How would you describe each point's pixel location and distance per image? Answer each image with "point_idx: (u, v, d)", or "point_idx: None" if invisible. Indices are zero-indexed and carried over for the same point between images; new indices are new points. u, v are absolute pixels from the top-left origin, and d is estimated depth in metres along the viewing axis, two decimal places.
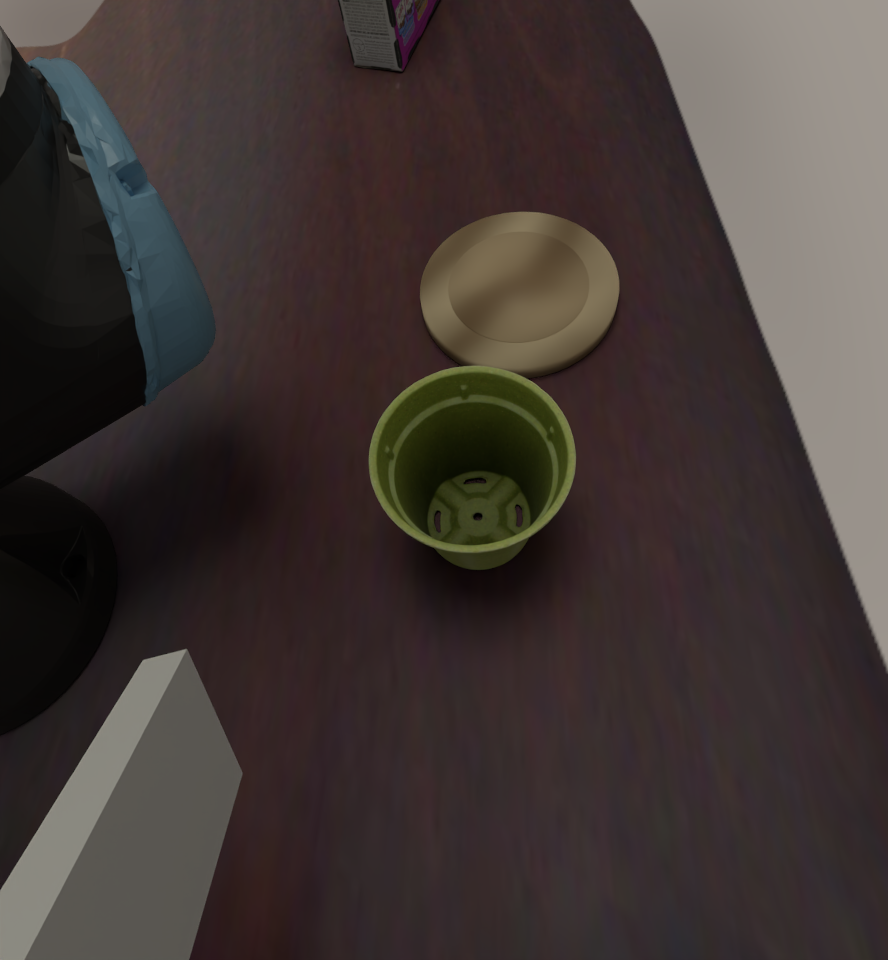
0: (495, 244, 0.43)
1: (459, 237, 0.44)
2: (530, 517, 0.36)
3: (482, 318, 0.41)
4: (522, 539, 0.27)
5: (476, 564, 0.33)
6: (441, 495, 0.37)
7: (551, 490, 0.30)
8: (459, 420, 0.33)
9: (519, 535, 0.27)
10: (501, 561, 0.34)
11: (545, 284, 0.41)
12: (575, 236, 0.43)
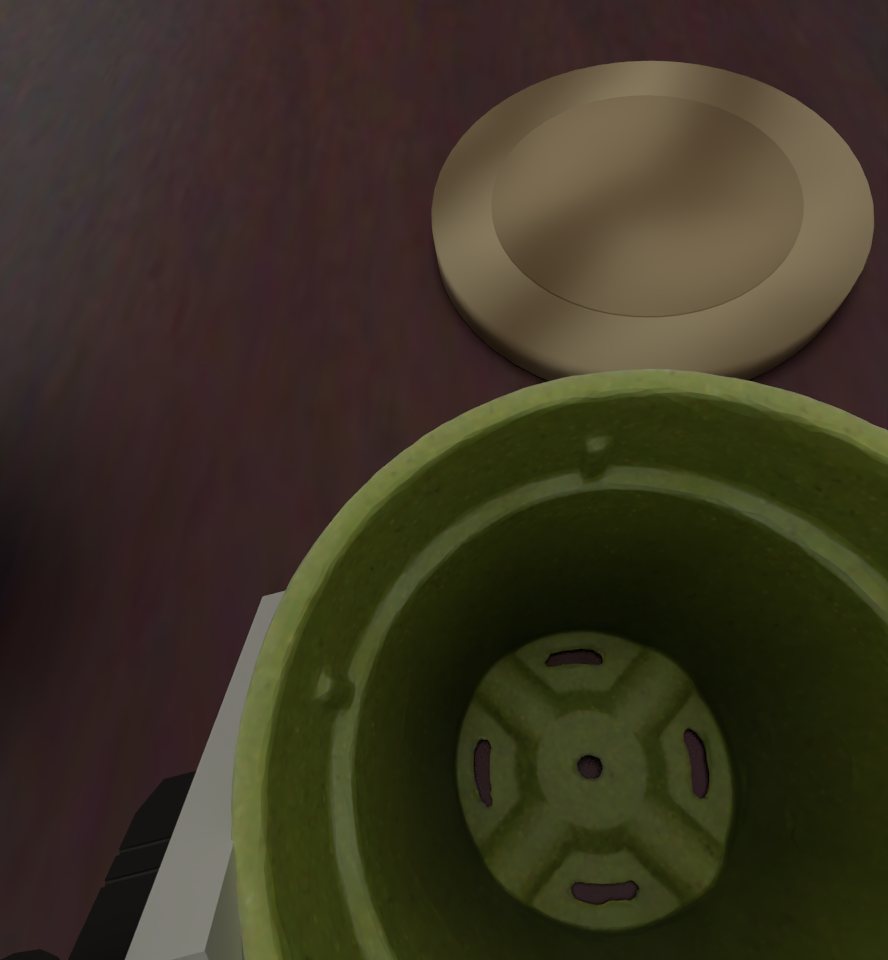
0: (586, 120, 0.21)
1: (510, 111, 0.22)
2: (731, 772, 0.14)
3: (569, 265, 0.19)
4: None
5: None
6: (491, 698, 0.15)
7: None
8: (561, 536, 0.11)
9: None
10: None
11: (703, 193, 0.19)
12: (753, 100, 0.21)
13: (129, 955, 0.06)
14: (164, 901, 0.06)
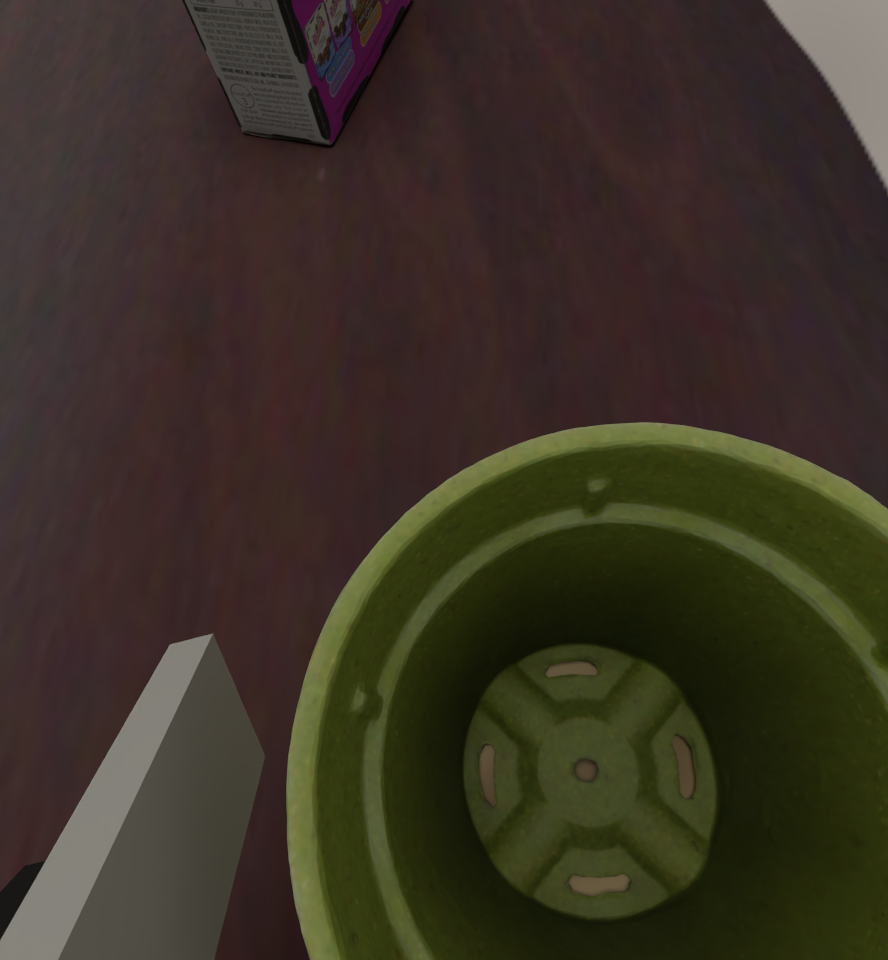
0: None
1: None
2: (715, 774, 0.15)
3: None
4: None
5: None
6: (495, 706, 0.16)
7: None
8: (563, 562, 0.12)
9: None
10: None
11: None
12: None
13: None
14: None
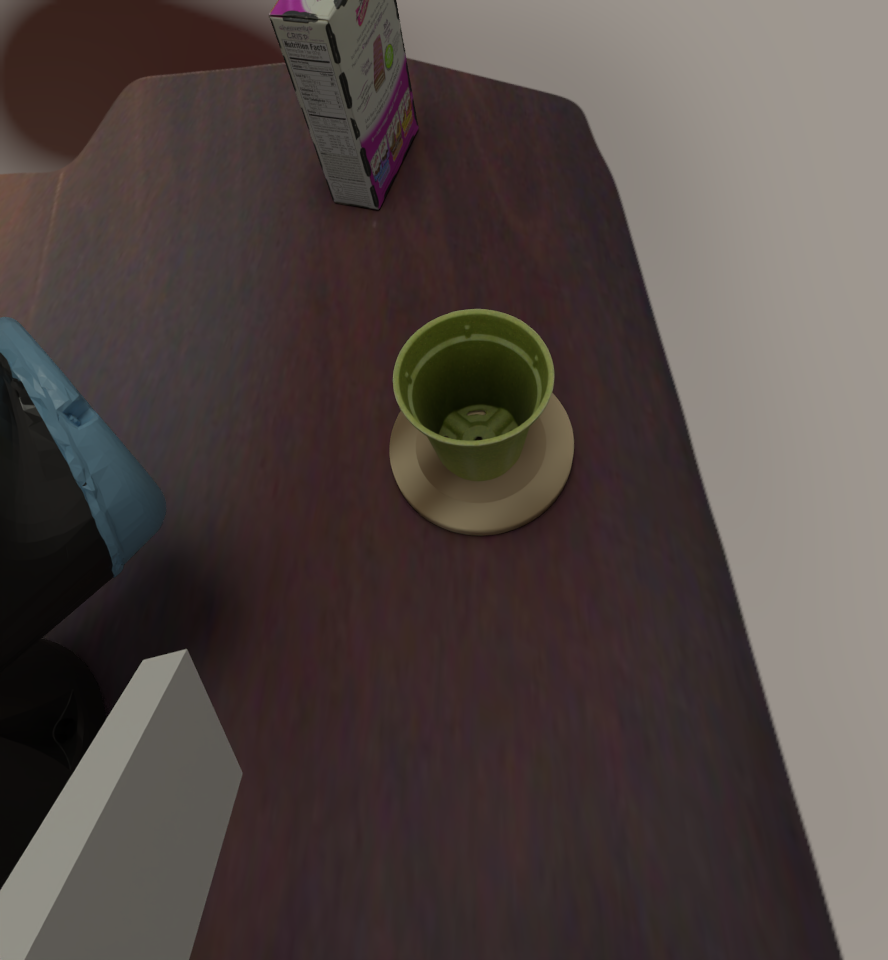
0: None
1: None
2: None
3: (446, 477, 0.44)
4: (512, 435, 0.35)
5: (477, 472, 0.41)
6: (449, 424, 0.45)
7: (536, 405, 0.38)
8: (463, 356, 0.41)
9: (510, 432, 0.35)
10: (497, 471, 0.42)
11: None
12: None
13: None
14: None
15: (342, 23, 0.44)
